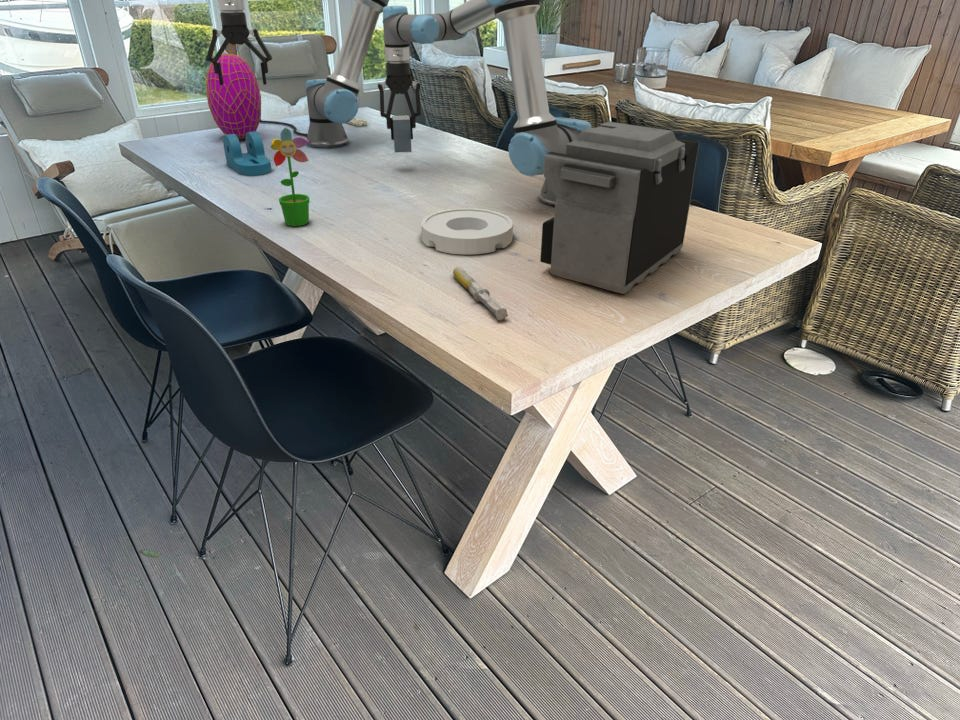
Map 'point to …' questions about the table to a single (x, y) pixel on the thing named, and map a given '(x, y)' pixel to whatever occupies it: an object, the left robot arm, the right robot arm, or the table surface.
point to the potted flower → (291, 178)
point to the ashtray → (467, 231)
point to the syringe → (479, 293)
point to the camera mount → (246, 154)
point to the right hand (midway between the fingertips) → (402, 138)
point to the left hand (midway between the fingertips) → (243, 84)
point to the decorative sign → (357, 122)
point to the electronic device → (618, 204)
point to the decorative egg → (234, 96)
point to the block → (402, 134)
